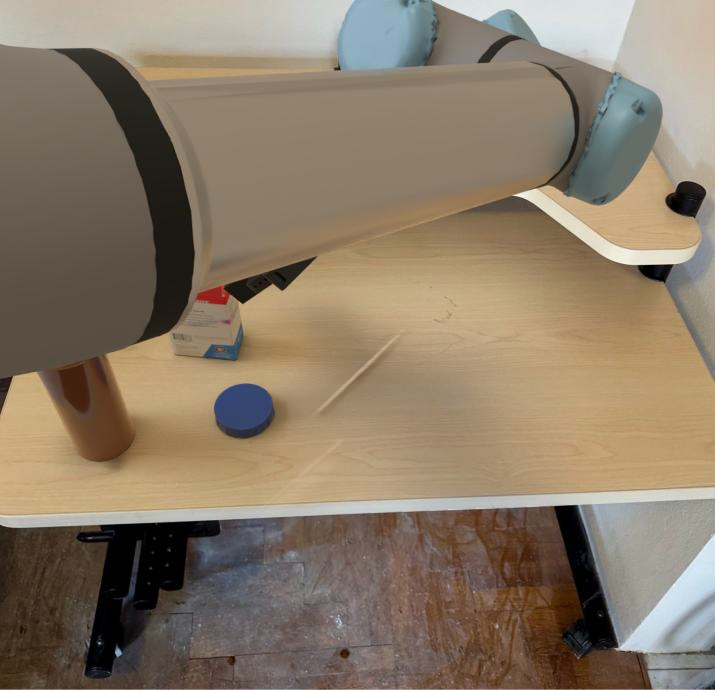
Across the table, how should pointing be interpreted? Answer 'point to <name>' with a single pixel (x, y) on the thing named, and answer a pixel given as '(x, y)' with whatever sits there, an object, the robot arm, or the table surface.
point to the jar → (90, 407)
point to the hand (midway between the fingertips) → (250, 254)
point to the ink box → (210, 327)
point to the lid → (243, 410)
